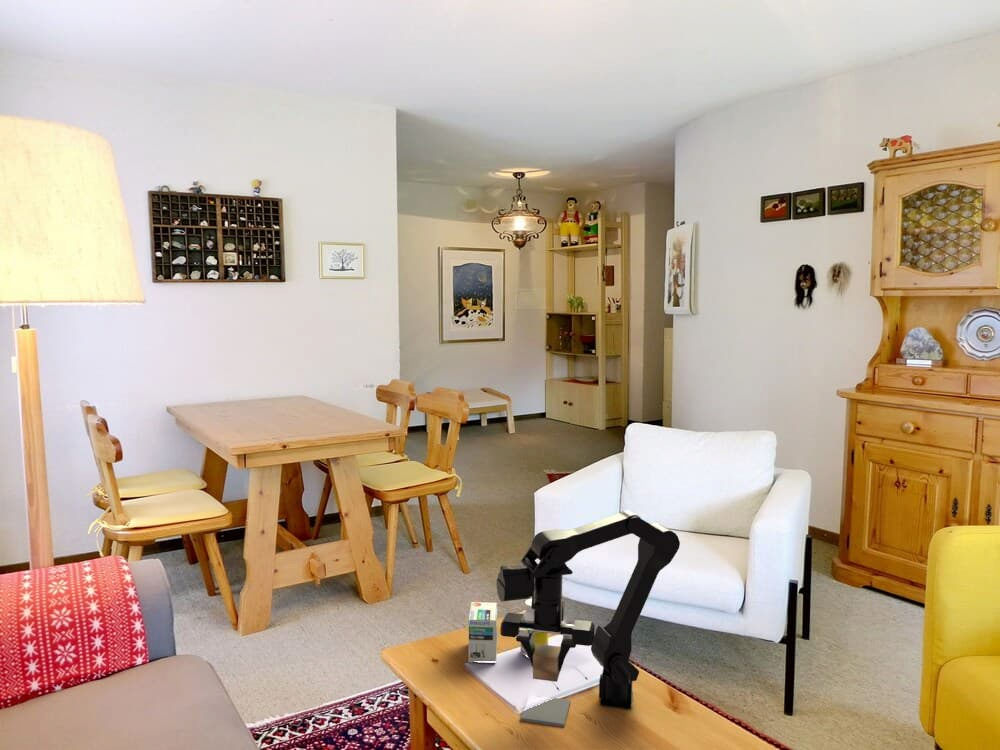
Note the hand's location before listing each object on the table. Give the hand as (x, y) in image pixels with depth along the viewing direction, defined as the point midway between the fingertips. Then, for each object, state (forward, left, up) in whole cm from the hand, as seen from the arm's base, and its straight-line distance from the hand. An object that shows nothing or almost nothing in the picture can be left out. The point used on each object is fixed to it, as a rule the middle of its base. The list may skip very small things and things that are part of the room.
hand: (547, 668), depth 148 cm
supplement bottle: (+7, -24, -10) cm, 27 cm away
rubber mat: (0, 0, -9) cm, 9 cm away
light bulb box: (+19, -21, -10) cm, 30 cm away
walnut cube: (0, 0, -1) cm, 1 cm away
